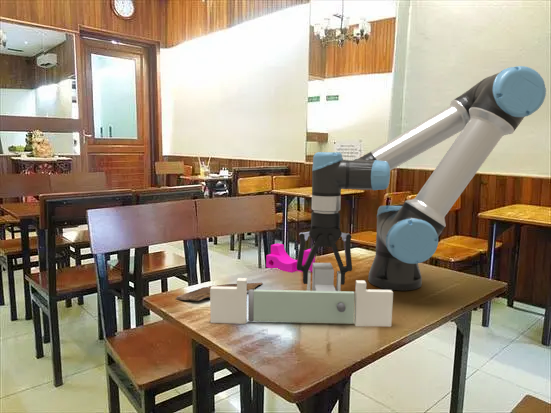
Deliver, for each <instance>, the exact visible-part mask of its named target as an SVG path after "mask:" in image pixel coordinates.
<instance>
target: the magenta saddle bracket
mask: <svg viewBox="0 0 551 413" xmlns="http://www.w3.org/2000/svg"><path fill="white" fill-rule="evenodd" d="M284 245H285V244H283V243H279V242H277V243H274V244H270V253H269V254H266V256H265V258H266V260H265V262H266V263H265V265H266V266H265V268H269V269H272V268H278V269H280V270H279V271H281V270H282V272H287V273H292V274H293V273H295V272H301V273H303V272H302V271H300V270H297V260H298V259H294V258H292V257H291V256H290V255H289V254H288V253H287V252H286V249H285V246H284ZM310 251H311V248H307V249H304V255H303V261H302V265H303V266H304V265H305V262H306V260H307V258H308V255H309V253H310ZM313 263H316V255H315V256H314V259H313V261H312V263H311V266H310V268H309V270H310V272H311V273H312V271H313Z"/></svg>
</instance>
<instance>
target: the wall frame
mask: <svg viewBox="0 0 551 413" xmlns="http://www.w3.org/2000/svg"><path fill="white" fill-rule="evenodd" d="M247 279H248V278H247V277H237V280H236V284H237V287H222V286H217V285H210V286H211V288H210V297H209V299H210V300H209V302H210V304H209V305H210V323H211V324H237V325H239V324H240V325H242V324H243V325H246V324H247V318H248V316H247V314H248V307H247V305H248V303H247V302H248V301H247V299H248V296H247V295H248V294H247V292H248V291H247V283H248V280H247ZM393 291H394V290H390V289H372V288H371V289H367V282H366V280H362V279H361V280H358V279H356V280H355V291H354V293H355V300H354V323H353V324H354V326H355V327H364V328H365V327H392V321H393V305H394V304H393V303H394V302H393V301H394V292H393Z"/></svg>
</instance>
